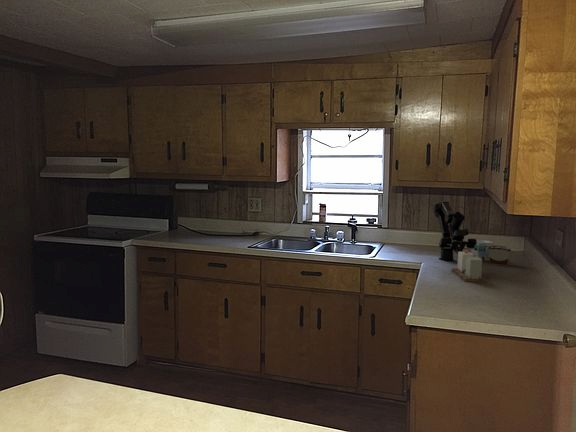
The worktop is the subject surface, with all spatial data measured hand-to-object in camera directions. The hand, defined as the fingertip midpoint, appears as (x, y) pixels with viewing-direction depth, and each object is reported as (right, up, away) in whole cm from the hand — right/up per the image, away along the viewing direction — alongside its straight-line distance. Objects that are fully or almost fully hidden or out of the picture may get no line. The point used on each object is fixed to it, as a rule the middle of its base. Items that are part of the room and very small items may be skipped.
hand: (460, 256), depth 257 cm
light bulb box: (+22, -5, +28) cm, 36 cm away
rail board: (-1, -9, -12) cm, 15 cm away
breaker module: (0, -7, -7) cm, 10 cm away
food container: (+28, -6, +17) cm, 33 cm away
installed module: (-1, -8, -20) cm, 22 cm away
